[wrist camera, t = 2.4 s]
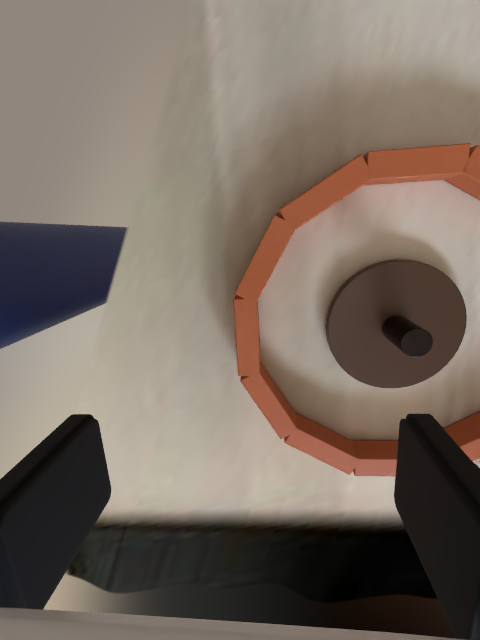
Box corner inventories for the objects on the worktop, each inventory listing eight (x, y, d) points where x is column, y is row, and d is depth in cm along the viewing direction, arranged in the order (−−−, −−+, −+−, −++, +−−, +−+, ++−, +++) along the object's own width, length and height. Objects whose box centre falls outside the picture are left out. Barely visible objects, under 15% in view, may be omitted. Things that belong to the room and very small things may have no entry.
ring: (246, 455, 26) (244, 475, 24) (229, 169, 21) (224, 162, 19) (530, 457, 24) (555, 478, 22) (594, 141, 19) (635, 130, 17)
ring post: (325, 384, 24) (336, 413, 20) (326, 262, 22) (339, 269, 18) (452, 382, 23) (488, 412, 19) (467, 255, 21) (512, 261, 17)
